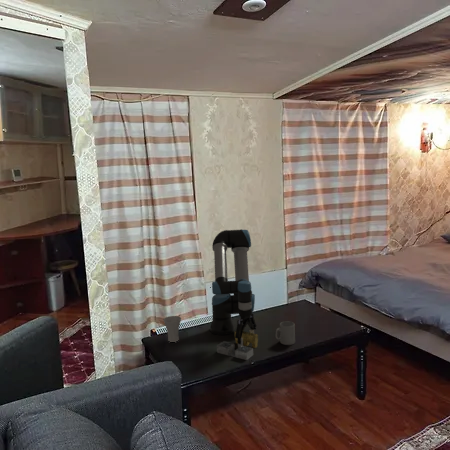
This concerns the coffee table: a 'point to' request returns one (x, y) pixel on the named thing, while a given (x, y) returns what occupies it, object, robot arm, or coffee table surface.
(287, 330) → the mug
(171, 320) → the cup
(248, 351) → the bracket
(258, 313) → the coffee table surface
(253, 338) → the yellow rectangular block
